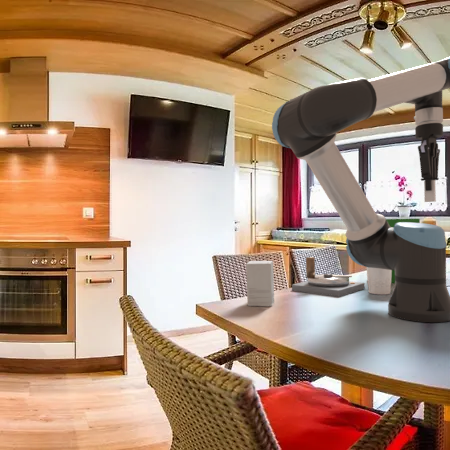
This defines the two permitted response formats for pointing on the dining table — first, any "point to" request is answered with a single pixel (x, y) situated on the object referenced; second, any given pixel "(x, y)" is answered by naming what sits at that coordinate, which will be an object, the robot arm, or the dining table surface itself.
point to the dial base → (329, 288)
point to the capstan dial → (323, 276)
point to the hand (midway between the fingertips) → (430, 201)
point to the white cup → (379, 280)
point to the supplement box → (260, 283)
